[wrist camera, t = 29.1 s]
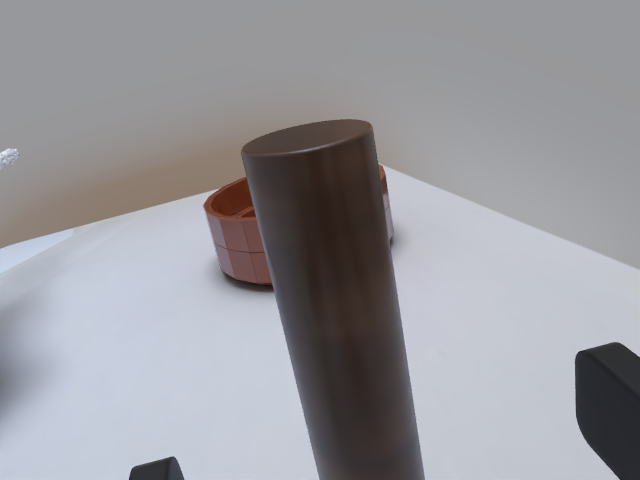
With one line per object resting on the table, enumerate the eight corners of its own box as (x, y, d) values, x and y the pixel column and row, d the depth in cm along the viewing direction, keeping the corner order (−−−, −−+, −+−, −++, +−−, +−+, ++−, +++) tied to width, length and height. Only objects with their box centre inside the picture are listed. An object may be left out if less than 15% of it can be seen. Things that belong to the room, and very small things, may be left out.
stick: (435, 563, 19) (367, 111, 14) (452, 654, 17) (377, 137, 11) (351, 572, 20) (249, 133, 14) (355, 663, 17) (229, 163, 11)
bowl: (384, 207, 55) (375, 149, 53) (405, 273, 41) (394, 197, 38) (235, 233, 56) (221, 176, 54) (206, 306, 42) (184, 233, 40)
